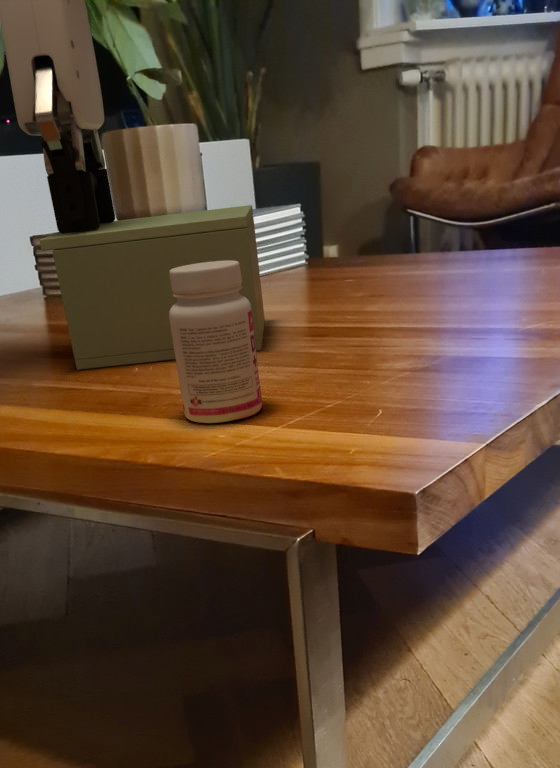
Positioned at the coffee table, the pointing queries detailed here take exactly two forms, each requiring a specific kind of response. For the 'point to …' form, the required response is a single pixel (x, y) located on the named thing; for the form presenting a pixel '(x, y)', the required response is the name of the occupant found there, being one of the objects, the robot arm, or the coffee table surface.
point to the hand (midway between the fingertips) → (88, 225)
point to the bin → (143, 292)
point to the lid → (152, 227)
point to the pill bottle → (214, 343)
